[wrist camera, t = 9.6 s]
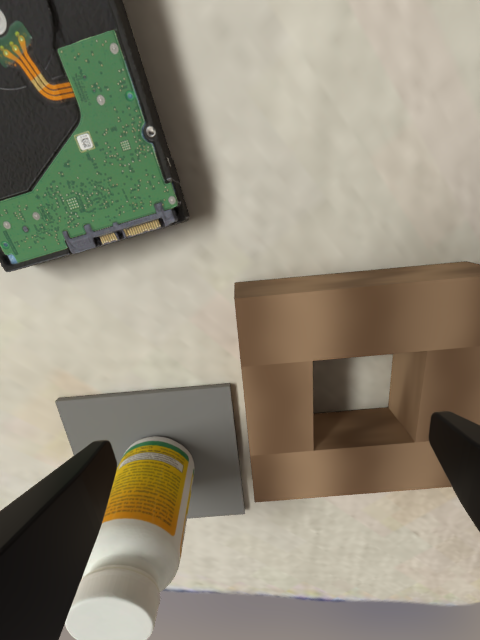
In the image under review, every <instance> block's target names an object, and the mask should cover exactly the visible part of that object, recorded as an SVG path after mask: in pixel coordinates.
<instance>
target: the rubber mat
mask: <svg viewBox="0 0 480 640" xmlns="http://www.w3.org/2000/svg"><path fill="white" fill-rule="evenodd" d="M55 403H56V405H57V408H58V411H59V414H60V417H61V420H62V422H63V425H64V428H65V431H66V434H67V437H68V440H69V442H70V445H71V448H72V451H73V454H74V455H76V454H77V453H78V452H80V451H81V450H82V449H84V448H85V447H86V446H88V445H89V444H90V443H92V442H93V441H97V440H109V441H110V443H111V445H112V448H113V451H114V454H115V457H116V460H117V467H118V465H119V463H120V461H121V459H122V457H123V455H124V453H125V452H126V450H127V449H128V448H129V447H130V446H131V445H132V444H133V443H135V442H136V441H138V440H140V439H143V438H147V437H153V436H159V437H165V438H169V439H172V440H174V441H176V442H178V443H179V444H181V445H182V446H184V447H185V448H186V449H187V450H188V451H189V453H190V454H191V456H192V458H193V461H194V478H193V485H192V491H191V497H190V503H189V509H188V515H187V518H200V517H212V516H225V515H238V514H245V508H244V500H243V491H242V482H241V474H240V465H239V457H238V448H237V440H236V431H235V423H234V414H233V406H232V397H231V388H230V383H228V384H216V385H205V386H193V387H181V388H170V389H158V390H147V391H135V392H123V393H112V394H100V395H89V396H77V397H65V398H58V399H57V400H56V401H55Z"/></svg>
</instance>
